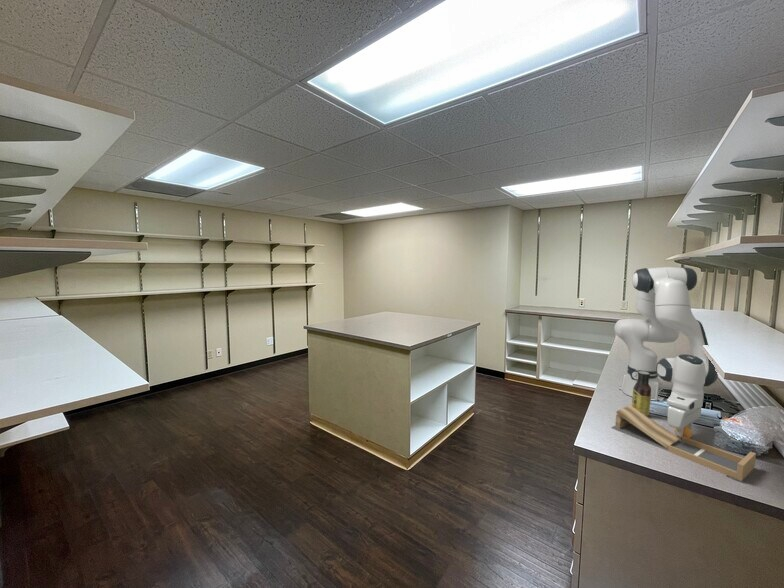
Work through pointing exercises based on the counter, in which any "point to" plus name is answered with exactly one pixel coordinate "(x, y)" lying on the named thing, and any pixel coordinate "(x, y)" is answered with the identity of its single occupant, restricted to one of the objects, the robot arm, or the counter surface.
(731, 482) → the counter surface
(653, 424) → the ramp
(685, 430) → the ball
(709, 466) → the lane
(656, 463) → the counter surface
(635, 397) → the sauce bottle
